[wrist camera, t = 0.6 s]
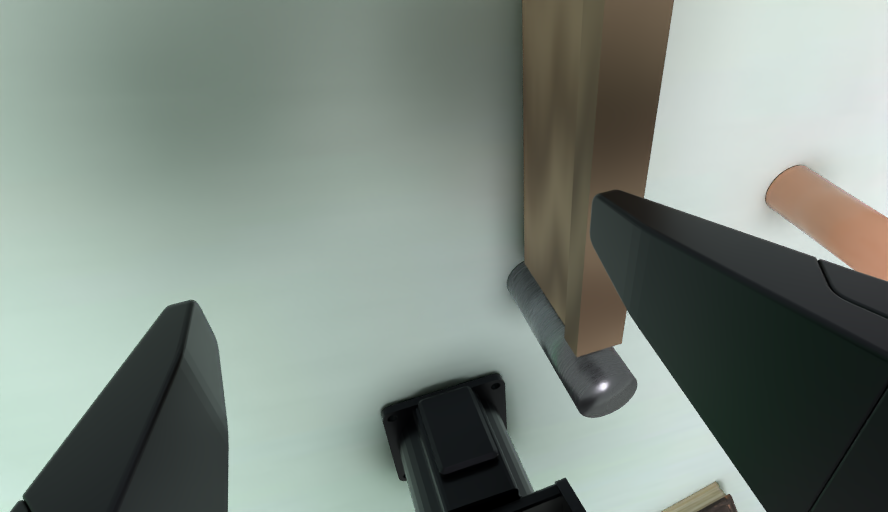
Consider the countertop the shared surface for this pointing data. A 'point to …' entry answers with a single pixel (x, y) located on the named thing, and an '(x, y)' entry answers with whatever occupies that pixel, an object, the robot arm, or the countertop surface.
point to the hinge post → (585, 377)
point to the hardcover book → (705, 501)
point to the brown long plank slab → (585, 144)
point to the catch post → (832, 219)
